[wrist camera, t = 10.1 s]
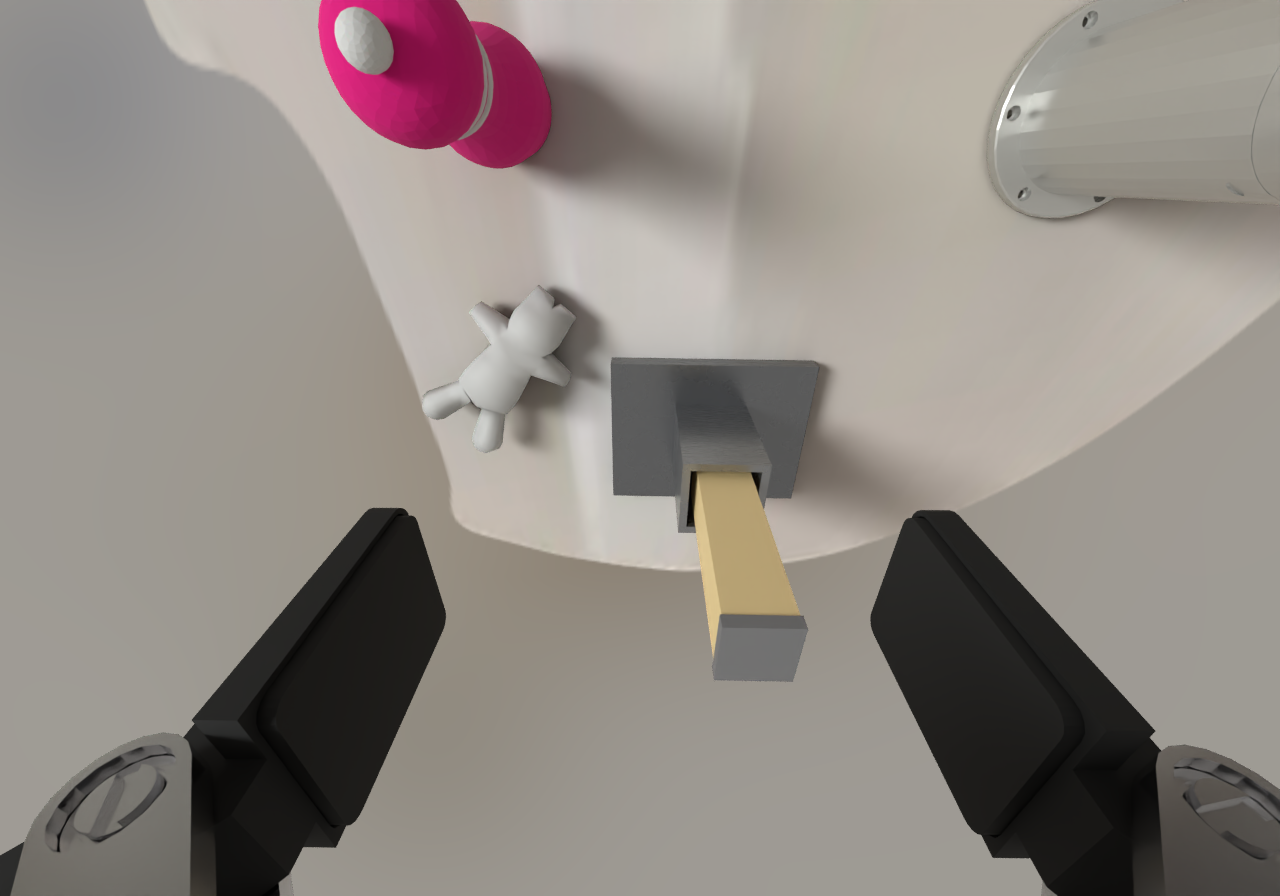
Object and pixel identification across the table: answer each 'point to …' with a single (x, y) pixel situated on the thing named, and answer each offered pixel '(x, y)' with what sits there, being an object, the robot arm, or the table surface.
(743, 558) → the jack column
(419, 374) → the table surface
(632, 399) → the sleeve
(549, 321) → the grey toy animal
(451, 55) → the pepper mill
